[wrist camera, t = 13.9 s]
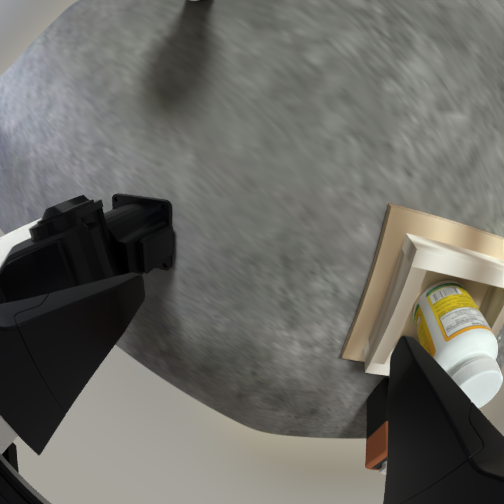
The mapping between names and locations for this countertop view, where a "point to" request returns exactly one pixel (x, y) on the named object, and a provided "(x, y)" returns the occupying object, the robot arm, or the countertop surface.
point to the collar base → (422, 280)
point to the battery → (377, 428)
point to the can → (14, 239)
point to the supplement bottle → (459, 339)
